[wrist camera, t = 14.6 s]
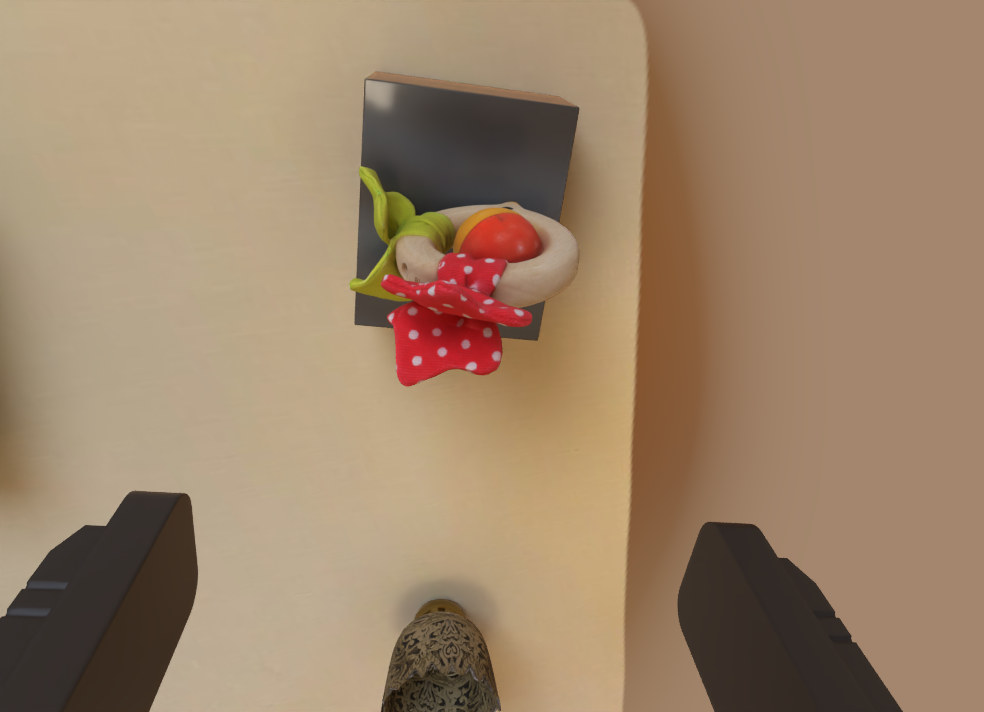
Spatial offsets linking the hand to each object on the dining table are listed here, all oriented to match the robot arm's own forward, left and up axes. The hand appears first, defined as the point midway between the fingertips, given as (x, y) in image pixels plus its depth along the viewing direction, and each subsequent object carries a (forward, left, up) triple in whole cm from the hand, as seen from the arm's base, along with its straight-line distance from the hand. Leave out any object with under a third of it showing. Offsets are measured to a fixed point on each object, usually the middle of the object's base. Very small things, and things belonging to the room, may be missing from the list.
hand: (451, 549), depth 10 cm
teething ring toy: (0, +1, -21) cm, 21 cm away
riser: (0, +1, -26) cm, 26 cm away
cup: (+30, +3, -26) cm, 40 cm away
